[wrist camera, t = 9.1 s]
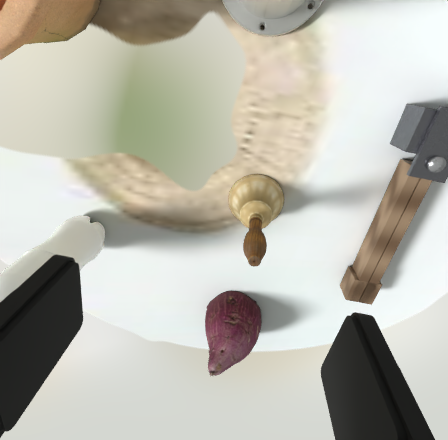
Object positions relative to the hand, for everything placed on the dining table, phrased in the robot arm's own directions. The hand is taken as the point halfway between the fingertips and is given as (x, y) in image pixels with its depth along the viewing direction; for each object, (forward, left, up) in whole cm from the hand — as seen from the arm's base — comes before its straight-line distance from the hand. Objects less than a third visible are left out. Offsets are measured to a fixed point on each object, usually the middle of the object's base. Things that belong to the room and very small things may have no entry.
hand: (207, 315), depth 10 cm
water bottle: (+20, -22, -34) cm, 45 cm away
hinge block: (-4, +23, -33) cm, 41 cm away
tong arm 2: (+10, +22, -33) cm, 41 cm away
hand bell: (+9, +4, -34) cm, 35 cm away
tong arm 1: (+10, +24, -33) cm, 42 cm away
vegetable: (+32, +5, -34) cm, 47 cm away
